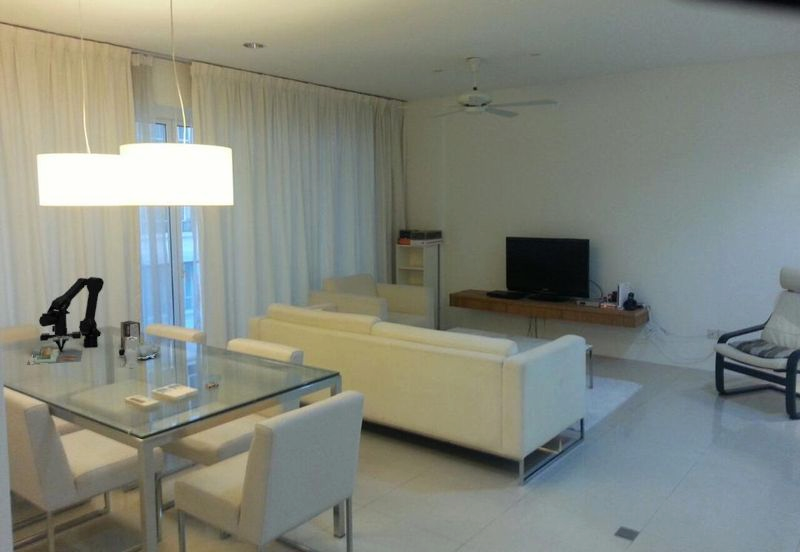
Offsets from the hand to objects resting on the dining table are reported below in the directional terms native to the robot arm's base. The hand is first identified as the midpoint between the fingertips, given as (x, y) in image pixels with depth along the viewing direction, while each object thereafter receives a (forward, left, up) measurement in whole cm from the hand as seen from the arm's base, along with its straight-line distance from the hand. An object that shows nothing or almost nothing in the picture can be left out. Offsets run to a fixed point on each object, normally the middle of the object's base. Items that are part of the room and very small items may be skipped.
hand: (61, 351), depth 327 cm
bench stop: (+11, 0, -1) cm, 11 cm away
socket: (-4, +12, -1) cm, 13 cm away
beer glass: (-34, +34, -2) cm, 48 cm away
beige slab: (+5, 0, -1) cm, 5 cm away
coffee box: (-34, 0, -2) cm, 34 cm away
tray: (+6, +12, -1) cm, 13 cm away
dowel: (+6, +12, -1) cm, 13 cm away
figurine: (-38, +17, -2) cm, 41 cm away
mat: (+2, +6, -2) cm, 7 cm away
